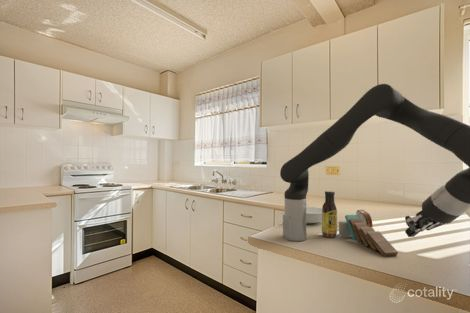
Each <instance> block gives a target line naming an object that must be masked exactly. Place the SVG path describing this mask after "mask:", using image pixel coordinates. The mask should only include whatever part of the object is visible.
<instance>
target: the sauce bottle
mask: <svg viewBox="0 0 470 313" xmlns="http://www.w3.org/2000/svg"><path fill="white" fill-rule="evenodd" d="M324 196H325V197H324V203H323V204H322V221H321V234H322V236H323V237H326V238H336V237H337V235H338V234H337V233H338V208H337V206H336V203H335V202H336V201H335V191H333V190H325V191H324Z"/></svg>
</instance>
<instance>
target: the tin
mask: <svg viewBox="0 0 470 313" xmlns="http://www.w3.org/2000/svg"><path fill="white" fill-rule="evenodd" d="M355 213H356V214H355V215H357V216H358V218H361V220H362V222H363V223H366V224H367V226H368V227H372V228H373V219H372V216H371V214H370V213H369V212H368V211H366V210H365V209H357V210H356V212H355Z"/></svg>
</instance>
